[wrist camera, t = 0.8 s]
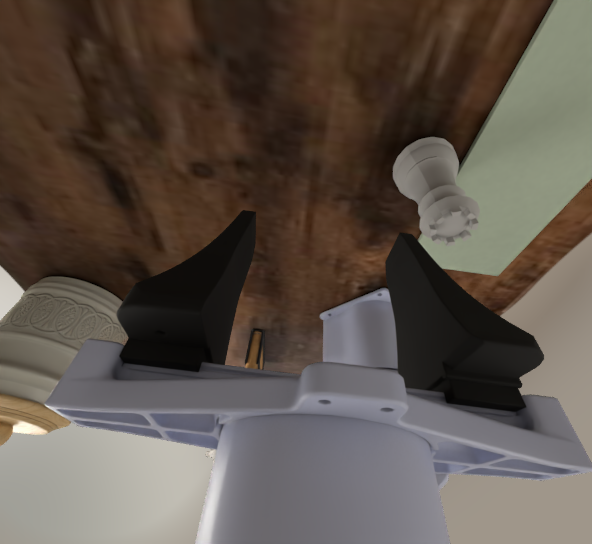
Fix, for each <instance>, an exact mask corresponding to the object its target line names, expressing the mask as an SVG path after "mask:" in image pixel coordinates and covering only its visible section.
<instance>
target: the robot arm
mask: <svg viewBox="0 0 592 544" xmlns="http://www.w3.org/2000/svg"><path fill="white" fill-rule="evenodd" d="M255 238H256V212H252V211H245V210H243V211H242V212H241V213H240V214H239V215H238V216H237V217H236V219H235V220H234V221H233V222H232V223H231V224H230V225H229V226H228V227H227V228H226V229H225V230H224V231H223V232H222V233H221V234H220V235H219V236H218V237H217V238H216V239H214V240H213V241H212V242H211V243H210V244H209V245H207V246H206V247H205V248H204V249H202V250H201V251H199V252H198V253H197V254H195V255H194V256H192V257H191V258H189V259H187V260H186V261H184V262H182V263H181V264H179V265H177V266H175V267H173V268H171V269H169V270H167V271H165V272H163V273H161V274H158V275H156V276H153V277H151V278H148V279H146V280H143V281H141V282H138V283H136V284H135V285H134V286H133V288H132V289H131V290H130V291H129V293H128V294H127V296H126V298H125V299H124V301H123V302H122V304H121V306H120V307H119V309H118V310H117V315H116V316H117V319H118V321H119V323H120V324H121V326H122V328H123V329H124V331H125V332H126V334H127V335H128V337H129V339H128V341H127V343H126V344H125V346H124V345H123V344H121V343H118V342H113V341H105V340H98V339H87V340H86V341H85V343H84V344H83V346H82V347H81V349H80V350H79V352H78V353H77V355H76V356H75V358H74V359H73V361H72V362H71V364H70V365H69V367H68V368H67V370H66V371H65V373H64V374H63V376H62V378H61V379H60V381H59V382H58V384H57V385H56V387H55V388H54V390H53V391H52V393H51V394H50V396H49V397H48V399H47V400H46V402H45V406H46V407H48V408H49V409H51V410H53V411H54V412H56V413H58V414H59V415H61V416H62V417H64V418H66V419H67V420H69V421H71V422H72V423H74V424H76V425H77V426H80V427H89V428H96V429H104V430H111V431H117V432H123V433H129V434H135V435H141V436H146V437H152V438H157V439H162V440H167V441H173V442H178V443H184V444H189V445H194V446H199V447H205V448H210V449H215V450H217V451H216V455H215V459H214V464H213V468H212V472H211V477H210V481H209V485H208V489H207V494H206V498H205V502H204V507H203V511H202V515H201V519H200V523H199V528H198V532H197V537H196V541H195V544H450V540H449V535H448V530H447V525H446V521H445V516H444V511H443V506H442V502H441V497H440V492H439V490H440V489H441V488H442V487H443V486H444V485H445V484H446V483H447V482H448V479H449V478H448V477H449V476H448V474H464V475H481V476H499V477H510V478H522V479H531V480H540V481H542V480H548V479H554V478H559V477H565V476H570V475H576V474H582V473H587V472H592V462H591V461H590V459H589V457H588V455H587V453H586V451H585V449H584V448H583V446H582V444H581V442H580V440H579V438H578V436H577V435H576V433H575V431H574V429H573V427H572V425H571V423H570V421H569V420H568V418H567V416H566V414H565V412H564V410H563V408H562V407H561V405H560V403H559V401H558V399H556V398H554V397H546V396H539V395H522V396H521V394H520V392H519V390H518V388H521V387H522V383H521V381H520V379H519V377H521V376H522V375H524V374H526V373H528V372H530V371H531V370H533V369H535V368H536V367H537V366H539V365H540V364H541V362H542V361H543V360H544V354H543V353H542V351H541V349H540V347H539V345H538V344H537V342H536V340H535V338H534V336H532V335H531V334H529V333H527V332H525V331H524V330H522V329H520V328H518V327H516V326H515V325H513V324H511V323H509V322H508V321H506V320H505V319H503V318H501V317H500V316H498V315H497V314H495V313H494V312H492V311H491V310H489V309H488V308H486V307H485V306H484V305H482V304H481V303H480V302H478V301H477V300H476V299H474V298H473V297H472V296H471V295H469V294H468V293H467V292H466V291H465V290H464V289H462V288H461V287H460V286H459V285H458V284H457V283H456V282H455V281H454V280H452V279H451V278H450V277H449V275H448V274H447V273H446V272H445V271H444V270H443V269H442V268H441V267H440V266H439V265H438V264H437V263H436V262H435V260H434V259H433V258H432V257H431V256H430V255H429V254H428V252H427V251H426V250H425V249H424V248H423V246H422V245H421V244H420V243H419V242H418V240H417V239H416V238H415V237H414V236H413V235H412V234H406V233H399V235H398V237H397V239H396V242H395V244H394V246H393V248H392V250H391V252H390V254H389V256H388V258H387V260H386V279H387V285H388V289H386V288H381V289H379V290H376V291H374V292H371V293H369V294H367V295H364V296H362V297H359V298H357V299H354V300H352V301H350V302H347V303H345V304H342V305H340V306H338V307H335V308H333V309H330V310H328V311H325V312H323V313H321V314H320V318H321V319H322V320H324V321H323V362H316V363H313V364H309V365H308V366H307V367H306V368H305V369H304V370H303V371H302V374H301V375H300V374H292V373H284V372H276V371H268V370H260V369H252V368H244V367H237V366H229V365H225V360H226V355H227V350H228V345H229V340H230V335H231V331H232V326H233V321H234V317H235V312H236V308H237V304H238V300H239V297H240V293H241V291H242V288H243V285H244V282H245V279H246V276H247V273H248V270H249V267H250V265H251V262H252V258H253V253H254V248H255ZM379 293H380V294H379Z"/></svg>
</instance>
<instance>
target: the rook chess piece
mask: <svg viewBox="0 0 592 544" xmlns="http://www.w3.org/2000/svg"><path fill="white" fill-rule="evenodd" d="M458 168H459V161H458V158H457V155H456V152H455V151H454V148H453V146H452V145H451V144H450V143H449V142H447V141H446V140H445V139H442V138H436V137H428V138H424V139H419V140H417V141H415V142H414V143H412V144H410V145H409V146H407V147H406V148H405V149H404V150H403V151H402V152H401V153H400V155H399V156H398V157H397V159H396V162H395V164H394V166H393V179H394V181H395V183H396V185H397V187H398V189H399V191H400V192H401V193H402V194H404V195H405V196H407V197H408V198H410V199H413V200H415V201H416V202H417V203H418V205H419V206H418V213H419V215H420V217H421V219H420V230H421V231H422V233H423V235H425V236H426V237H428V238H429V239H432V241H433V242H435V243H436V244H438V245H439V244H440V243H441V242H442V241H444V242H445V244H446V246H452V245H455V241H454V240H455V239H457V238H460V237H461V238H462V240H463V241H466V240H467V239H469V238H470V237H472V236H471V234H470V232H469V231H470V230H477V228H478V224H479V222H478V221H477V220H478V217H479V213H480V209H479V206H478V203H477V202H476V201H475V200H473V199H472V198H471V197H467V196H466V194H465V191H464V190H463V189H461V188H460V187H459V186H457V185H456V182H455V181H456V177H457V174H458Z"/></svg>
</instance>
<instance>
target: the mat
mask: <svg viewBox="0 0 592 544" xmlns="http://www.w3.org/2000/svg"><path fill="white" fill-rule="evenodd" d="M591 178H592V0H554V1H553V3H552V4H551V6H550V8H549V10H548V11H547V13H546V15H545V17H544V18H543V20H542V22H541V24H540V26H539V27H538V29H537V31H536V33H535V34H534V36H533V38H532V40H531V41H530V43H529V45H528V47H527V48H526V50H525V52H524V54H523V56H522V57H521V59H520V61H519V63H518V64H517V66H516V68H515V70H514V71H513V73H512V75H511V77H510V78H509V80H508V82H507V84H506V85H505V87H504V89H503V91H502V93H501V94H500V96H499V98H498V100H497V101H496V103H495V105H494V107H493V108H492V110H491V112H490V114H489V115H488V117H487V119H486V121H485V123H484V124H483V126H482V128H481V130H480V131H479V133H478V135H477V137H476V138H475V140H474V142H473V144H472V145H471V147H470V149H469V151H468V153H467V154H466V156H465V158H464V160H463V161H462V163H461V165H460V167H459V168H458V174H457V177H456V181H455V182H456V185H457V186H459V187H460V188H461V189H463V190H464V191H465V194H466V196H467V197H471V198H472V199H473V200H475V201H476V202H477V203H478V206H479V209H480V213H479V217H478V220H477V221H478V222H479V224H478V228H477V230H470V231H469V232H470V234H471V236H472V237H470V238H469V239H467V240H466V241H463V240H462V238H461V237H460V238H457V239H455V240H454V241H455V245H452V246H446V244H445V242H444V241H442V242H441V243H440V244H439V245H438V244H436V243H435V242H433V241H432V239H429V238H428V237H426V236H425V235H423V233H422V234H421V235H420V237H419V239H418V242H419V243H420V244H421V245H422V246H423V248H424V249H425V250H426V251H427V252H428V254H429V255H430V256H431V257H432V258H433V259H434V260H435V262H436V263H437V264H438V265H439V266H440V267H441V268H443V269H451V270H458V271H465V272H472V273H480V274H487V275H494V276H498V275H499V274H500V273H501V272H502V271H503V270H504V269H505V268H506V267H507V266H508V265H509V264H510V263H511V262H512V261H513V260H514V259H515V258H516V257H517V256H518V255H519V253H520V252H521V251H522V250H523V249H524V248H525V247H526V246H527V245H528V244H529V243H530V242H531V241H532V240H533V239H534V238H535V237H536V236H537V235H538V234H539V233H540V232H541V231H542V230H543V228H544V227H545V226H546V225H547V224H548V223H549V222H550V221H551V220H552V219H553V218H554V217H555V216H556V215H557V214H558V213H559V212H560V211H561V210H562V209H563V208H564V207H565V206H566V205H567V203H568V202H569V201H570V200H571V199H572V198H573V197H574V196H575V195H576V194H577V193H578V192H579V191H580V190H581V189H582V188H583V187H584V186H585V185H586V184H587V183H588V182H589V181H590V180H591Z"/></svg>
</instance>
